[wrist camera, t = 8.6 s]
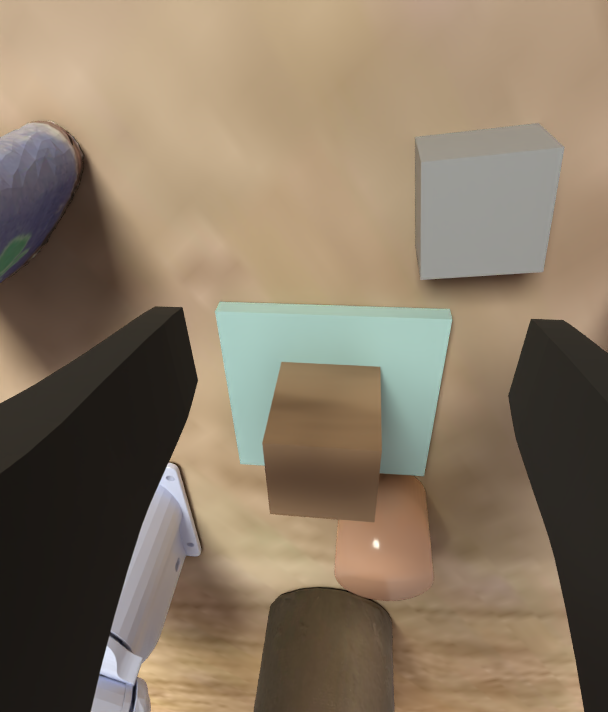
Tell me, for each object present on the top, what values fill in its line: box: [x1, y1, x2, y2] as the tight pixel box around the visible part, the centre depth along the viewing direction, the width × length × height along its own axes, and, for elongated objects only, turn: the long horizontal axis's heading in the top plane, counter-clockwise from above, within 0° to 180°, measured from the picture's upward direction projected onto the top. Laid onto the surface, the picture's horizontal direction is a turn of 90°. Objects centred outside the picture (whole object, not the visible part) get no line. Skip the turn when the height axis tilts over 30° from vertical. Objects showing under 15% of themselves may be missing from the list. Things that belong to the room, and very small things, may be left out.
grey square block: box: [415, 123, 564, 280], centre depth 17 cm, size 4×4×3 cm
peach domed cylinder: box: [334, 473, 434, 601], centre depth 27 cm, size 5×5×5 cm
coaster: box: [215, 302, 452, 476], centre depth 24 cm, size 10×10×1 cm
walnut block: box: [262, 362, 382, 522], centre depth 22 cm, size 4×4×5 cm
